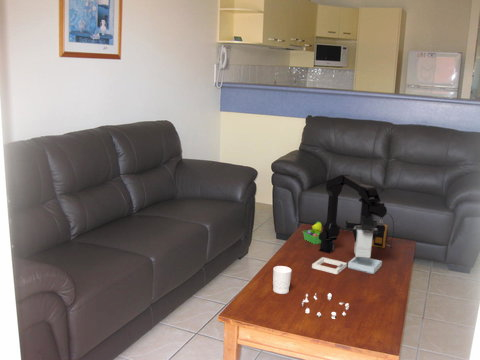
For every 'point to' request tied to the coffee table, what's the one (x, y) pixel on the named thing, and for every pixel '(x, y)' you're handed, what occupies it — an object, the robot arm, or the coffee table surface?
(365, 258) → the tray
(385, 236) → the multimeter
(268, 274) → the coffee table surface
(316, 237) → the fruit basket
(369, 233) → the supplement box
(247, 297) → the coffee table surface
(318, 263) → the frame
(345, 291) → the coffee table surface
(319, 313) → the game piece set
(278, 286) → the white cup
